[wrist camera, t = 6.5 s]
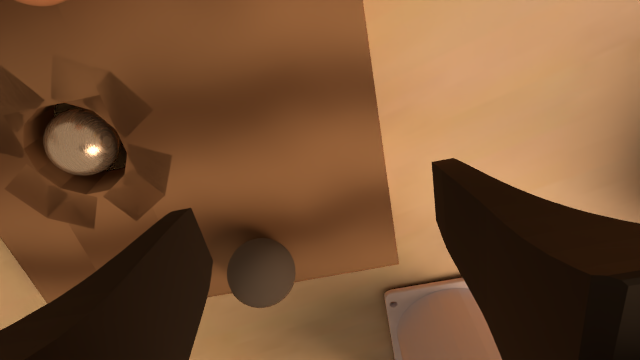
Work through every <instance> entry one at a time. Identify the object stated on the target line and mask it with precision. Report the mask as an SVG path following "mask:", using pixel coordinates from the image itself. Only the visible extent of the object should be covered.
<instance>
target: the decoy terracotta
mask: <svg viewBox="0 0 640 360" xmlns="http://www.w3.org/2000/svg"><path fill="white" fill-rule="evenodd" d="M15 1H17V2H20V3H23V4H26V5H31V6H53V5H56V4H59V3H62V2H64V1H66V0H15Z"/></svg>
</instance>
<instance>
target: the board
mask: <svg viewBox="0 0 640 360" xmlns="http://www.w3.org/2000/svg"><path fill="white" fill-rule="evenodd" d="M59 103H68V104H71V105H75V106H78V107H82V108H85V109H89V110H92V111H94V112H95V113H96V114H98V115H99V116H100V117H101V118H102V119H104V120H105V121H106V122H107V123H108V124H110V125H111V126H112V127H113V128H115V129H116V131H117V133H118V135H119V137H120V139H121V141H122V143H123V146H124V148H125V150H126V152H127V159H126V167H125V168H122V169H117V170H112V171H105V170H103V171H101V172H99V173H96V174H93V175H84V176H83V175H74V174H70V173H67V172H65V171H63V170H61V169H60V168H58V167H57V166H56V165H54V164H53V163H52V162H51V160H50V159H49V158H48V156H47V154H46V152H45V149H44V144H43V136H44V132H45V129H46V127H47V125H48V124H49V123H50V121H51V120H52V119H53V116H54V107H55V105H56V104H59ZM187 208H192V211H193V213H194V216H195V218H196V220H197V223H198V225H199V228H200V230H201V232H202V235H203V237H204V240H205V242H206V244H207V247H208V249H209V252H210V254H211V256H212V259H213V266H212V275H211V281H210V288H209V292H208V296H207V297H211V296H217V295H223V294H229V293H232V291H231V289H230V287H229V285H228V281H227V267H228V263H229V261H230V258H231V256H232V255H233V253H234V252H235V251H236V250H237V248H239V247H240V246H241V245H242V244H244V243H245V242H247V241H250V240H253V239H257V238H268V239H272V240H275V241H277V242H279V243H281V244H282V245H283V246H284V247H285V248H286V249H287V250H288V251H289V252H290V254H291V256H292V258H293V260H294V263H295V272H296V274H295V280H294V282H298V281H304V280H310V279H315V278H321V277H327V276H333V275H339V274H344V273H350V272H356V271H362V270H368V269H373V268H379V267H385V266H391V265H396V264H399V261H398V254H397V247H396V239H395V232H394V225H393V218H392V210H391V203H390V196H389V188H388V181H387V174H386V167H385V159H384V152H383V145H382V138H381V130H380V123H379V116H378V108H377V101H376V94H375V87H374V79H373V72H372V65H371V57H370V50H369V43H368V36H367V28H366V21H365V14H364V7H363V0H66V1H64V2H62V3H59V4H56V5H53V6H31V5H26V4H23V3H20V2H17V1H15V0H0V237H1V239H2V240H3V242H4V243H5V244H6V246H7V247H8V249H9V250H10V251H11V253H12V254H13V256H14V257H15V258H16V260H17V261H18V263H19V264H20V265H21V267H22V268H23V270H24V271H25V272H26V274H27V275H28V277H29V278H30V280H31V281H32V282H33V284H34V285H35V287H36V288H37V289H38V291H39V292H40V294H41V295H42V296H43V298H44V299H45V301H46V302H47V303H50V302H51V301H53V300H55V299H56V298H58V297H59V296H61V295H62V294H64V293H65V292H67V291H68V290H70V289H71V288H73V287H74V286H76V285H77V284H79V283H80V282H82V281H83V280H85V279H86V278H87V277H89V276H90V275H92V274H93V273H94V272H95V271H97V270H98V269H99V268H101V267H102V266H103V265H104V264H106V263H107V262H108V261H110V260H111V259H112V258H113V257H115V256H116V255H117V254H119V253H120V252H121V251H122V250H124V249H125V248H126V247H127V246H128V245H130V244H131V243H132V242H133V241H134V240H136V239H137V238H138V237H139V236H140V235H142V234H143V233H144V232H145V231H146V230H148V229H149V228H150V227H151V226H152V225H154V224H155V223H156V222H157V221H159V220H160V219H161V218H163V217H164V216H165V215H167V214H168V213H170V212H172V211H176V210H181V209H187Z"/></svg>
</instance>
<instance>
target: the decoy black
mask: <svg viewBox="0 0 640 360" xmlns="http://www.w3.org/2000/svg"><path fill="white" fill-rule="evenodd" d="M295 274H296V272H295V263H294V260H293V258H292V256H291V254H290V252H289V251H288V250H287V249H286V248H285V247H284V246H283V245H282V244H281V243H279V242H277V241H275V240H272V239H268V238H257V239H253V240H250V241H247V242H245V243H244V244H242V245H241V246H240V247H239V248H237V250H236V251H235V252H234V253H233V255H232V256H231V258H230V261H229V263H228V267H227V281H228V285H229V287H230V289H231V291H232V293H233V294H234V296H235V297H236V298H237V299H238V300H239V301H241V302H242V303H244V304H246V305H248V306H251V307H256V308H265V307H269V306H272V305H275V304H277V303H278V302H280V301H281V300H283V299H284V298H285V297H286V296H287V294H288V293H289V292H290V290H291V288H292V286H293V284H294V280H295Z"/></svg>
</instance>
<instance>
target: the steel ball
mask: <svg viewBox="0 0 640 360" xmlns="http://www.w3.org/2000/svg"><path fill="white" fill-rule="evenodd" d="M43 144H44V149H45V152H46V154H47V156H48V158H49V159H50V160H51V162H52V163H53V164H54V165H56V166H57V167H58V168H60V169H61V170H63V171H65V172H67V173H70V174H74V175H83V176H84V175H93V174H96V173H99V172H101V171H103V170H105V169H107V168H108V167H109V166H110V165H111V164H112V163H113V162H114V161H115V159H116V158H117V156H118V153H119V150H120V138H119V135H118V133H117V131H116V129H115V128H113V127H112V126H111V125H110V124H108V123H107V122H106V121H105V120H104V119H102V118H101V117H100V116H99V115H98V114H96V113H95V112H94V111H92V110H88V109H72V110H67V111H65V112H62V113H60V114H58V115H57V116H56V117H54V118H53V119H52V120H51V121H50V123H49V124H48V125H47V127H46V129H45V132H44V136H43Z"/></svg>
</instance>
